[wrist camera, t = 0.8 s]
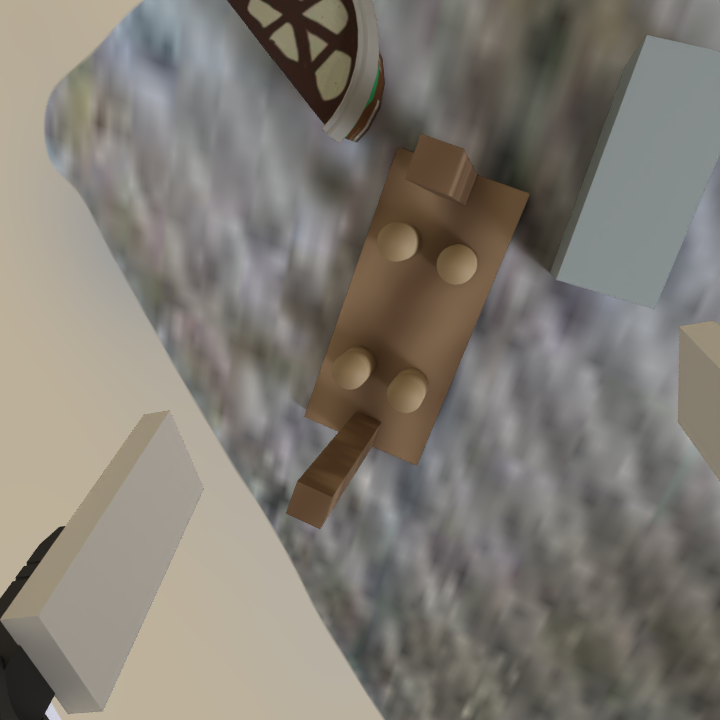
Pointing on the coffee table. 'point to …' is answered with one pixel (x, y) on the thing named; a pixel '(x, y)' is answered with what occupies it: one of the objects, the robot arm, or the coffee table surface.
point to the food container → (324, 56)
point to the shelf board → (645, 173)
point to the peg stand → (406, 315)
